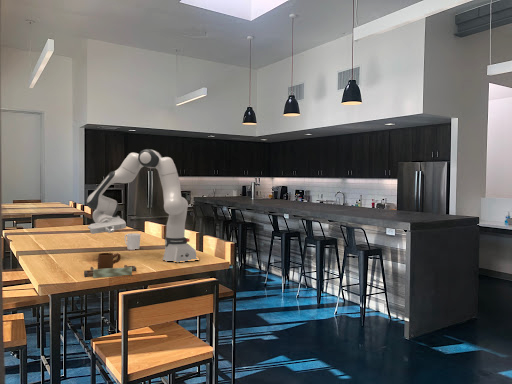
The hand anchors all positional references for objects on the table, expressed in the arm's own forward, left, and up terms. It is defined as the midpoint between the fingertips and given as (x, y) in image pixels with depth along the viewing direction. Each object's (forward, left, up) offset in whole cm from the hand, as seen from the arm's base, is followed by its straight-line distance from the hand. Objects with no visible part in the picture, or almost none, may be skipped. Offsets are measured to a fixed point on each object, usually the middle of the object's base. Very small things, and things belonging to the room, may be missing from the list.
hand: (111, 231), depth 235 cm
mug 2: (-19, -43, -18) cm, 50 cm away
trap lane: (+3, +24, -18) cm, 31 cm away
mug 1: (+3, +21, -18) cm, 28 cm away
